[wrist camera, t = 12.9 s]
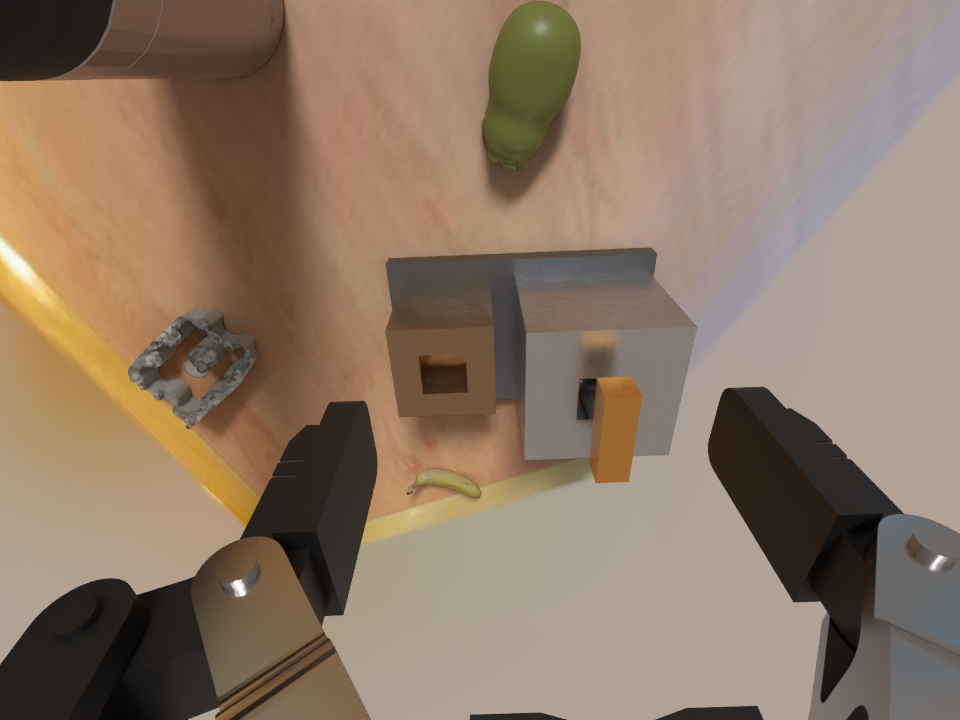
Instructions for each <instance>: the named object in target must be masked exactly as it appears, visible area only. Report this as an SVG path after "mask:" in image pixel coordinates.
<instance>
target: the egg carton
mask: <svg viewBox="0 0 960 720" xmlns="http://www.w3.org/2000/svg"><path fill="white" fill-rule="evenodd" d="M222 317H223V315H222V314H221V313H220V312H218V311H217V310H216V309H214V308H212V309H210V310H208V311H201V310H198V309H196V308H193V309H191V310H190V311H189V312H188V313H186V314H185V315H184V316H183V317H179V318H177V319H176V320H174V321H173V322H172V323H171V324H170V325H169V326H168V327H167V328H166V329H165V330H164V331H163V332H162V333H161V334H160V335H159V337H158V338H156V339H155V340H154V341H153V342H152V344H151V345H150V346H149V347H148V348H147V349H146V350H145V351H144V352H143V353H142V354H141V355H140V356H139V357H138V358H137V359H136V360H135V362H134V363H133V364H132V365H131V366H130V368H129V370H128V375H129V377H130V380H131V381H133V382H134V383H136V384H137V385H138V386H139V387H140V389H141V390H144V389H145V390H147V391H149V392H150V393H152V394H153V395H154V398H155V399H156V400H162V399H163V398H164V399H166V400H168V401H169V402H171V403H173V404H174V405H175V406H174V409H173V413H174V414H175V415H176V416H177V417H178V418H180V419H181V420H184V421H185V423H187V426H186V428H187V429H190V428H191V427H193V426H194V425H195V424H196V423H197V422H199V421H200V420H201V419H202V418H203V417H204V416H205V415H207V414H208V413H209V412H210V411H211V410H212V409H213V408H214V407H215V406H216V405H218V404H219V403H220V402H221V401H222V400H223V399H224V398H225V397H226V396H228V395H229V394H230V393H231V392H232V391H233V390H235V389H236V388H237V387H238V386H239V384H240V383H241V382H242V380H243V379H244V378H245V376H246V375H247V373H248V372H249V370H250V368H251V367H252V366H253V365H254V364H255V362H254V361H255V360H256V357H257V356H258V353H257V351H256V350H255V348H254V341H255V338H254V337H253V336H251V335H250V334H248V333H247V332H245V333H243V334H241V335H234V334H231V333H229V332H228V331H226V330H225V328H224V327H223V324H222ZM195 326H196V327H198V328H199V329H200V330H206V334H208V335H209V336H206V337H205V338H204V339H203V340H202V341H200V342H199V343H198V344H197V345H196V346H195V347H194V348H193V349H192V351H191V352H190V353H189V354H188V359H187V360H186V361H185V362H184V369H185V371H186V372H187V373H188V374H190V375H191V376H193V377H198V378H201V377H205V376H206V375H207V374H208V372H209V370H210V368H212V367H214V366H215V365H216V364H217V363H218V362H219V361H220V360H221V359H222V358H223V357H224V355H225V354H226V353H227V351H228V347H231V348H232V350H236V349H237V348H238V347H242V348H244V349H245V350H246V351H245V354H244V357H243V358H240V359H238V360H236V361H235V362H234V364H233V365H232V366H231V367H230V368H229V369H228V370H227V372H226V373H225V374H224V375H223V377H225V378H226V379H220V380H218V381H217V382H216V383H215V384H214V386H213V387H212V388H211V389H210V390H209V391H208V392H207V394H206V396H204V397H203V398H201V400H197V399H195V398H194V397H192V396H191V395H190V393H191V388H190V386H189V384H188V383H186V382H185V381H183V380H181V379H178V378H172V379H169V380H165V379H164V378H163V377H161V376H160V375H159V374H158V372H159V368H158V367H160V366H161V365H163V364H164V363H165V362H166V361H167V360H168V359H169V358H170V357H171V356H172V355H173V354H174V353H175V352H176V345H178V344H181V342H182V341H183V340H184V339H185V338H186V337H187V336H188V335H189V334H190V333H191V332H192V331H193V330H194V329H195Z"/></svg>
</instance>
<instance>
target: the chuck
mask: <svg viewBox="0 0 960 720" xmlns="http://www.w3.org/2000/svg"><path fill="white" fill-rule="evenodd" d="M656 257H657V253H656V252H655V251H654V250H653V249H652V248H631V249H607V250H582V251H558V252H534V253H509V254H485V255H460V256H436V257H411V258H389V259H388V261H387V263H386V269H387V275H388V282H389V289H390V296H391V303H392V309H393V311H392V314H391V317H390V319H389V322H388V325H387V328H386V331H385V332H386V338H387V344H388V350H389V357H390V363H391V369H392V375H393V382H394V388H395V394H396V401H397V407H398V413H399V417H417V416H444V415H471V414H496V400H515V399H517V406H518V414H519V421H520V429H521V437H522V444H523V452H524V459H525V460H542V459H569V458H589V455H590V445H591V435H592V428H591V425H590V422H589V419H588V416H587V413H586V410H585V407H584V404H583V401H582V398H581V395H580V392H579V380H580V379H587V378H607V377H631V376H632V378H633V379H634V381H635V383H636V385H637V387H638V389H639V391H640V393H641V395H642V403H641V409H640V415H639V421H638V427H637V433H636V439H635V446H634V452H633V456H651V455H669V450H670V446H671V441H672V437H673V432H674V428H675V423H676V419H677V414H678V410H679V405H680V401H681V396H682V392H683V387H684V383H685V378H686V374H687V369H688V365H689V360H690V356H691V351H692V347H693V342H694V338H695V333H696V329H697V326H696V325H695V324H694V323H693V321H692V320H691V319H690V318H689V317H688V316H687V315H686V314H685V312H684V311H683V310H682V309H681V308H680V307H679V306H678V305H677V303H676V302H675V301H674V300H673V299H672V298H671V297H670V296H669V294H668V293H667V292H666V291H665V290H664V289H663V288H662V286H661V285H660V284H659V283H658V282H657V281H656V280H655V279H654V277H653V275H654V269H655V263H656Z"/></svg>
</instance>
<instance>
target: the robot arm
mask: <svg viewBox="0 0 960 720" xmlns="http://www.w3.org/2000/svg"><path fill="white" fill-rule="evenodd" d="M283 12H284V9H283V1H282V0H0V81H35V80H93V79H167V78H234V77H241V76H245V75H248V74H251V73H253V72H254V71H256V70H258V69H259V68H261V67H262V66H263V65H264V64H265V63H266V62H267V61H268V60H269V59H270V57H271V56H272V55H273V53H274V51H275V49H276V47H277V45H278V43H279V39H280V35H281V32H282V28H283ZM708 454H709V460H710V463H711V466H712V468H713V470H714V472H715V473H716V475H717V476H718V478H719V480H720V481H721V483H722V485H723V486H724V488H725V490H726V491H727V493H728V495H729V496H730V498H731V500H732V501H733V503H734V504H735V506H736V508H737V509H738V511H739V513H740V514H741V516H742V518H743V519H744V521H745V523H746V524H747V526H748V528H749V529H750V531H751V533H752V534H753V535H754V538H755V539H756V541H757V542H758V544H759V546H760V547H761V549H762V551H763V552H764V554H765V556H766V557H767V559H768V561H769V562H770V564H771V566H772V567H773V569H774V571H775V572H776V574H777V575H778V577H779V579H780V580H781V582H782V584H783V585H784V587H785V589H786V590H787V592H788V594H789V595H790V597H791V599H792V600H793V602H817V601H821V603H822V604H823V606H824V607H825V609H826V610H827V614H826V615H825V617H824V619H823V621H822V625H821V633H820V640H819V647H818V655H817V662H816V670H815V678H814V685H813V692H812V700H811V707H810V713H809V717H808V720H960V534H959V533H957V532H956V531H954V530H952V529H950V528H949V527H946V526H944V525H942V524H940V523H937V522H935V521H933V520H930V519H927V518H923V517H919V516H915V515H908V514H904V513H902V511H901V510H900V509H899V508H898V507H897V506H896V505H895V504H894V503H893V502H892V501H891V500H890V499H889V498H888V497H887V496H886V495H885V494H884V493H883V492H882V491H881V490H880V489H879V488H878V487H877V486H876V485H875V484H874V483H873V482H872V481H871V480H870V479H869V478H868V477H867V476H866V475H865V473H863V471H861V470H860V468H859V467H858V466H856V464H855V463H854V462H853V461H852V460H851V459H847V455H846V454H845V453H844V452H843V451H842V450H841V449H840V448H839V447H838V446H837V445H836V444H833V443H832V440H831V439H830V438H829V437H828V436H827V435H826V434H825V433H824V432H823V431H822V430H821V429H820V428H819V427H818V426H817V424H815V423H814V422H812V421H811V420H809V419H807V418H806V417H804V416H803V415H801V414H799V413H797V412H796V411H794V410H793V409H791V408H790V409H786V408H785V407H784V406H783V405H782V404H781V403H780V402H779V400H778V399H777V398H776V397H775V396H774V395H773V394H772V393H771V392H770V391H769V390H768V389H767V388H765V387H744V388H727V389H725V390H724V392H723V393H722V395H721V398H720V401H719V405H718V409H717V412H716V416H715V420H714V424H713V427H712V431H711V434H710V438H709V443H708ZM376 477H377V452H376V447H375V442H374V437H373V432H372V427H371V422H370V417H369V412H368V408H367V404H366V403H365V401H348V402H331V403H329V405H328V406H327V409H326V411H325V413H324V415H323V418H322V420H321V422H320V425H307V426H305V427H304V428H303V429H302V430H301V431H300V432H299V433H298V434H297V435H296V436H295V437H294V438H293V439H291V440H290V441H289V443H288V445H287V447H286V449H285V451H284V453H283V455H282V457H281V459H280V463H278V465H277V467H276V469H275V471H274V473H273V478H272V479H270V481H269V483H268V485H267V487H266V489H265V491H264V493H263V495H262V497H261V499H260V501H259V503H258V505H257V507H256V509H255V511H254V513H253V515H252V517H251V519H250V521H249V523H248V525H247V527H246V529H245V531H244V533H243V535H242V537H241V538H240V540H237V541H235V542H232V543H230V544H228V545H227V546H225V547H223V548H221V549H220V550H218V551H217V552H216V553H214V554H213V555H212V556H211V557H210V558H209V559H208V560H207V561H206V562H205V563H204V564H203V565H202V566H201V568H200V569H199V571H198V572H197V574H196V576H195V577H192V578H190V579H187V580H184V581H181V582H177V583H174V584H171V585H168V586H165V587H162V588H158V589H155V590H152V591H149V592H145V593H142V594H139V595H136V594H135V592H134V591H133V589H132V588H131V587H130V585H129V584H128V583H126V582H125V581H122V580H120V579H114V578H113V579H101V580H96V581H93V582H89V583H87V584H84V585H82V586H79V587H77V588H75V589H73V590H71V591H70V592H68V593H66V594H65V595H63V596H61V597H60V598H58V599H57V600H56V601H54V602H53V603H52V604H50V605H49V606H48V607H47V608H46V609H45V610H43V611H42V612H41V613H40V614H39V615H38V616H37V617H36V619H35V620H34V621H33V622H32V623H31V625H30V626H29V627H28V628H27V630H26V631H25V632H24V634H23V635H22V636H21V638H20V639H19V640H18V642H17V643H16V644H15V646H14V647H13V649H12V650H11V651H10V652H9V654H8V655H7V656H6V658H5V659H4V660H3V662H2V663H1V665H0V720H188V719H190V718H193V717H195V716H198V715H200V714H203V713H205V712H208V711H210V710H213V709H216V708H219V707H220V712H219V713H217V714H216V718H215V720H371V719H370V717H369V715H368V713H367V711H366V709H365V707H364V705H363V703H362V701H361V699H360V697H359V695H358V693H357V691H356V689H355V687H354V685H353V683H352V681H351V679H350V677H349V675H348V673H347V671H346V669H345V667H344V665H343V663H342V661H341V659H340V657H339V655H338V653H337V651H336V649H335V647H334V645H333V643H332V642H331V641H330V639H328V638H327V637H326V635H325V633H324V631H323V629H322V623H323V620H324V616H332V615H343V614H344V610H345V606H346V602H347V598H348V594H349V590H350V585H351V581H352V577H353V573H354V569H355V564H356V560H357V556H358V552H359V548H360V544H361V540H362V536H363V532H364V527H365V523H366V519H367V515H368V511H369V507H370V503H371V499H372V494H373V490H374V486H375V482H376ZM470 720H566V719H562V718H558V717H555V716H551V715H547V714H543V713H515V714H514V713H512V714H482V715H470ZM656 720H763V718H762V715H761V713H760V711H759V709H758V706H739V707H709V708H708V707H707V708H685V709H683V710H680V711H677V712H675V713H672V714H669V715H667V716H664V717H662V718H659V719H656Z"/></svg>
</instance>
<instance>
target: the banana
mask: <svg viewBox="0 0 960 720" xmlns="http://www.w3.org/2000/svg"><path fill="white" fill-rule="evenodd" d="M421 485H437V486H442V487H446V488H450V489H453V490H456V491H459V492H461V493H463V494H465V495H467V496H469V497H473V498H479V497H480V495H481V491H480V489H479V487H478V486H477V484H476V483H474V482H473V481H472V480H470V479H468V478H466V477H464V476H462V475H460V474H457V473H455V472H452V471H447V470H442V469H427V470H424V471H421V472H420V473H419V474H418V475H417V476H416V482H415V483H414V484H413V485H412V486H410V487H408V489H407V495H408V494H411V493H412V491H413V489H414V488H415V487H417V486H421Z"/></svg>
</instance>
